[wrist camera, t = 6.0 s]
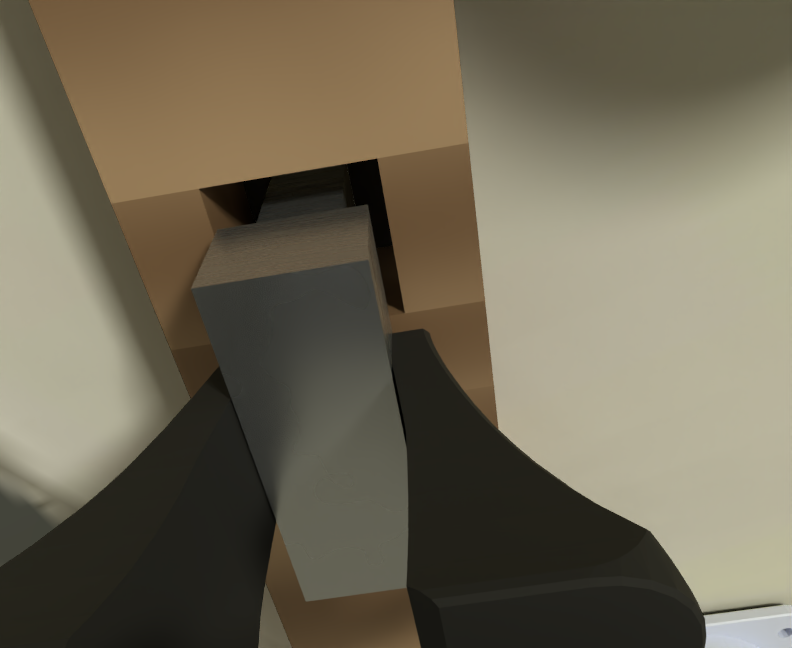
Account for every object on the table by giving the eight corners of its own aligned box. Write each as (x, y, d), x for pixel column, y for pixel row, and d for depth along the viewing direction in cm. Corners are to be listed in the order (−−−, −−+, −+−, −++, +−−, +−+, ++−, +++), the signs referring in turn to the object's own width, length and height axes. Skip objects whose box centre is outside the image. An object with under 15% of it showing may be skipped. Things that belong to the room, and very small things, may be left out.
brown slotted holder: (504, 577, 21) (523, 668, 19) (317, 603, 22) (312, 696, 19) (392, -389, 10) (402, -490, 7) (-3, -306, 10) (-125, -375, 8)
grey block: (415, 403, 18) (434, 583, 13) (321, 417, 18) (306, 601, 13) (366, 140, 14) (368, 260, 9) (248, 160, 14) (190, 288, 9)
